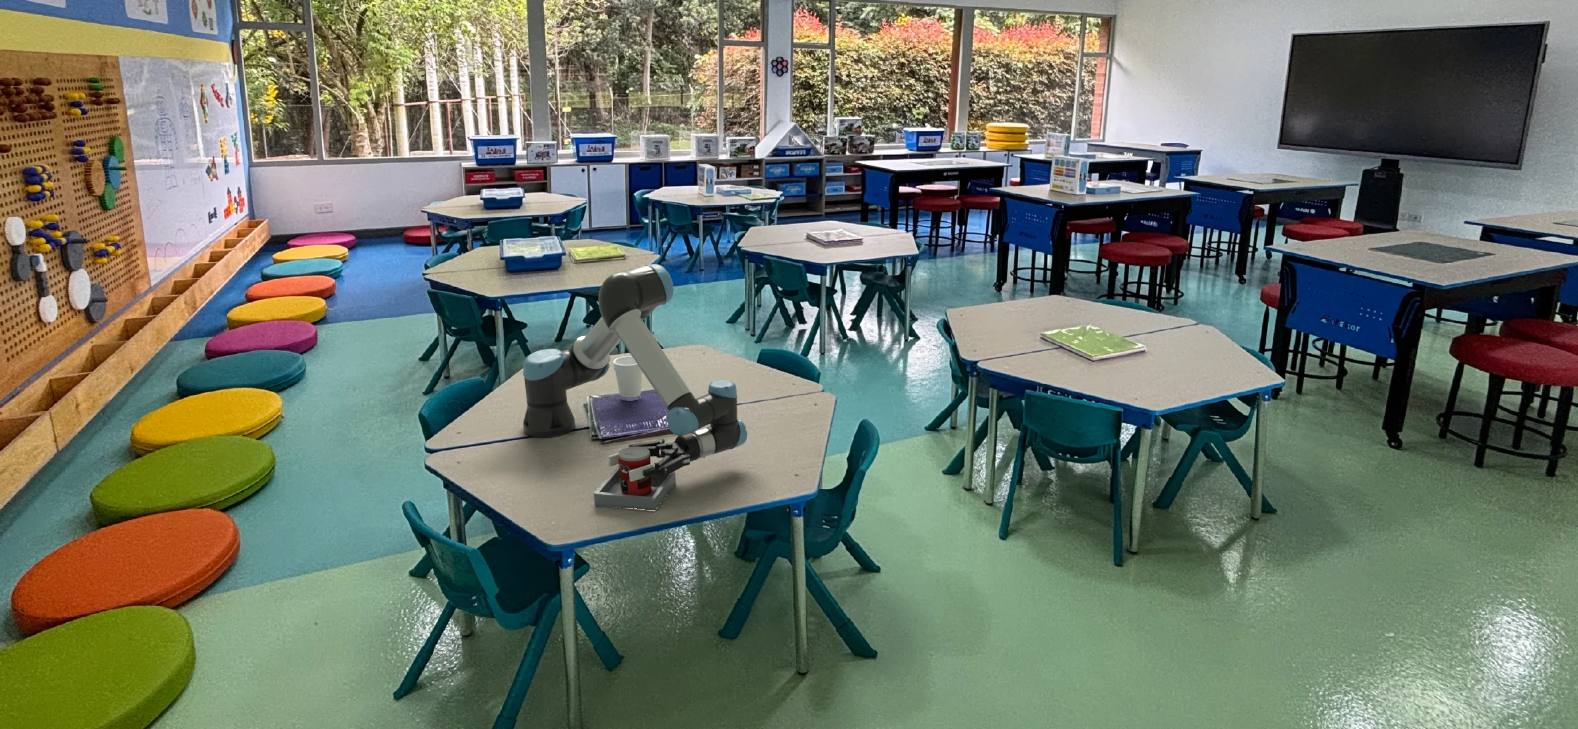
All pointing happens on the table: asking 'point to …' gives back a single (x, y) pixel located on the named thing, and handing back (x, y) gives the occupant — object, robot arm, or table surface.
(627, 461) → the canned food
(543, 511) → the table surface
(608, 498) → the tray
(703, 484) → the table surface
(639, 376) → the foam cup
